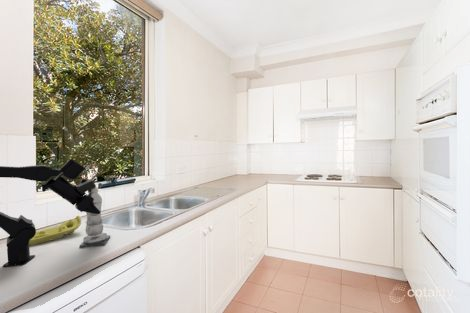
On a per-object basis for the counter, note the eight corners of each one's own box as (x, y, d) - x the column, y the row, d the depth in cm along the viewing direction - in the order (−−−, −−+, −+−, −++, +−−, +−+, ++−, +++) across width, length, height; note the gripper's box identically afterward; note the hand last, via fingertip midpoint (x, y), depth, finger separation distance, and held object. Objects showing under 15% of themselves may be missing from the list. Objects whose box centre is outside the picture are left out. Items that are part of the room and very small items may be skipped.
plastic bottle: (102, 231, 106) (101, 185, 105) (104, 235, 100) (102, 188, 99) (85, 234, 102) (83, 187, 101) (86, 239, 96) (84, 189, 96)
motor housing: (104, 245, 98) (104, 239, 98) (79, 248, 96) (79, 241, 96) (110, 237, 107) (109, 231, 107) (87, 239, 104) (87, 233, 104)
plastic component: (27, 241, 98) (24, 226, 104) (29, 254, 101) (27, 238, 107) (83, 226, 111) (78, 213, 117) (84, 238, 114) (79, 224, 120)
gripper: (86, 175, 90) (118, 199, 98) (76, 171, 104) (105, 193, 112) (61, 199, 85) (97, 223, 93) (55, 192, 99) (86, 213, 107)
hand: (97, 211), depth 101 cm, fingers closed on plastic bottle, 6 cm apart
